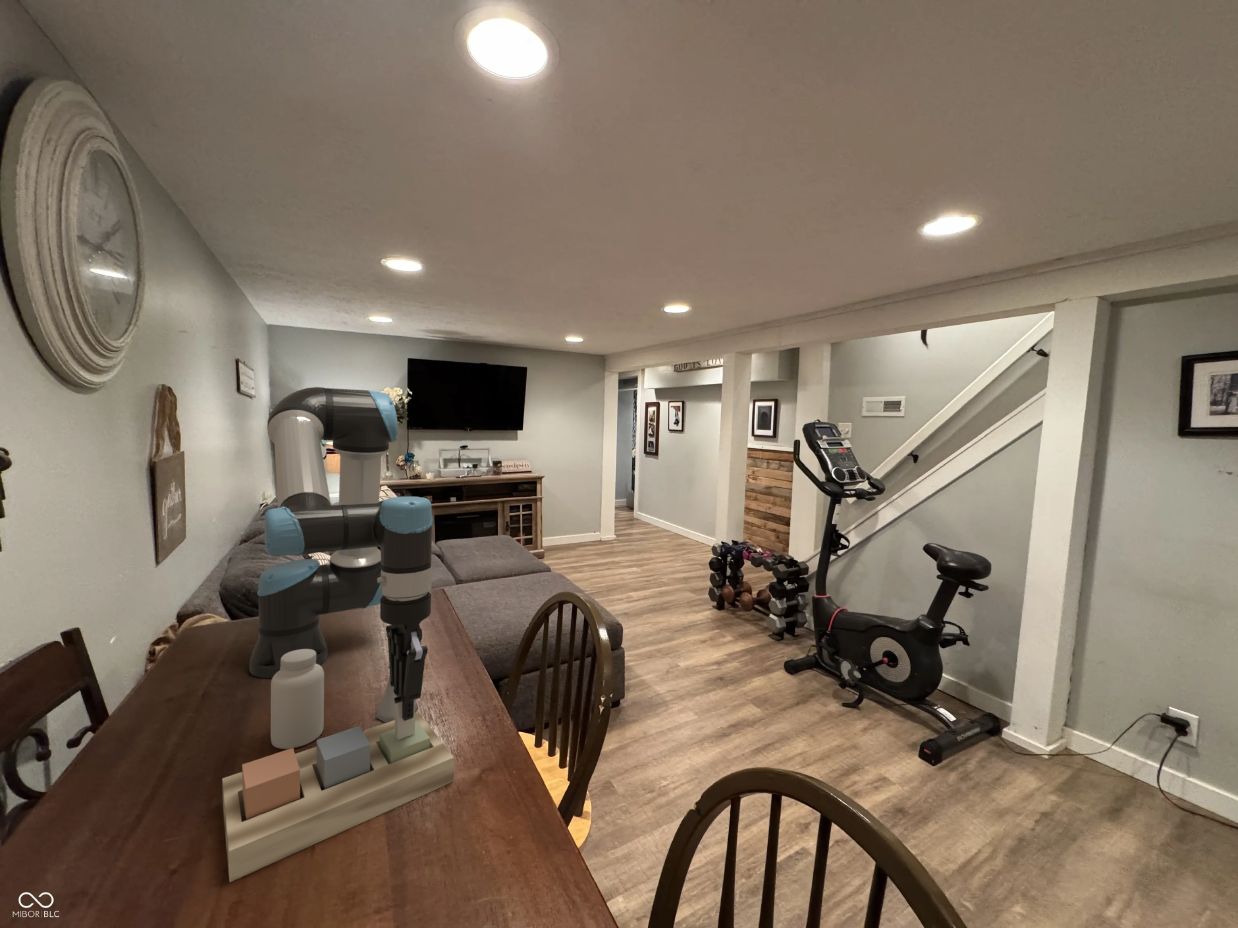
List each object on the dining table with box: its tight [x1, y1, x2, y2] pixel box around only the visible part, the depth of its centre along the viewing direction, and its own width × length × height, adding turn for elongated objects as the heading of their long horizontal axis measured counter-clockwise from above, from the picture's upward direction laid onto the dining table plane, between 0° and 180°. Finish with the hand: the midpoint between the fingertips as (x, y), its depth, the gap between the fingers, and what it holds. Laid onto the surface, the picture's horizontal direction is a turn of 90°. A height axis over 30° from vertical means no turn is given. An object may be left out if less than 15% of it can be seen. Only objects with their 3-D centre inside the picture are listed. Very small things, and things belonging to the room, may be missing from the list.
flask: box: [375, 664, 419, 723], centre depth 96 cm, size 7×7×10 cm
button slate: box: [316, 725, 370, 789], centre depth 74 cm, size 6×6×4 cm
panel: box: [221, 711, 455, 883], centre depth 75 cm, size 16×28×4 cm, turn 131°
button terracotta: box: [241, 748, 300, 820], centre depth 69 cm, size 6×6×4 cm
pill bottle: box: [270, 649, 325, 750], centre depth 87 cm, size 8×8×15 cm
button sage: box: [380, 721, 430, 764], centre depth 81 cm, size 6×6×4 cm
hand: (404, 734), depth 80 cm, fingers closed
